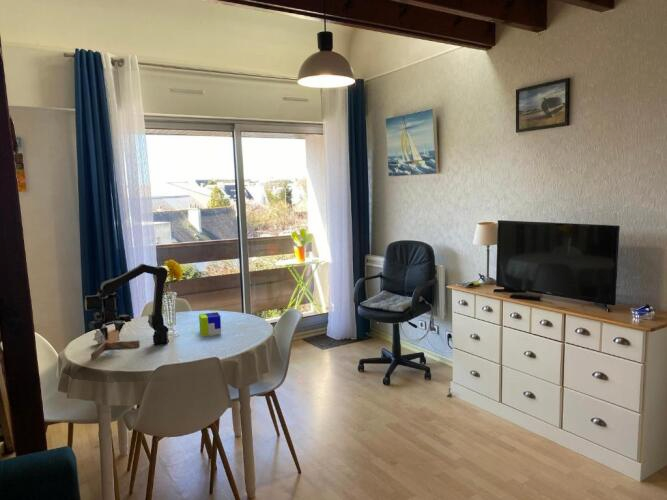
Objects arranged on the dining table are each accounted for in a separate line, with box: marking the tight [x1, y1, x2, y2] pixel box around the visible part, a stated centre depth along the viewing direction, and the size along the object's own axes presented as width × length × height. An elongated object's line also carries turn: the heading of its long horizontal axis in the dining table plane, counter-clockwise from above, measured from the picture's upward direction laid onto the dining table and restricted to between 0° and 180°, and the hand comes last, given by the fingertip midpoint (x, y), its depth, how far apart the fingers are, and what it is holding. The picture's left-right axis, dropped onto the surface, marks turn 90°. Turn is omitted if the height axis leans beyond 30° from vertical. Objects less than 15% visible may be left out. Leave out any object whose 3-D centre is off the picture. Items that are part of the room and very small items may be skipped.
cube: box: [104, 328, 120, 343], centre depth 241 cm, size 5×5×5 cm
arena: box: [90, 340, 141, 361], centre depth 240 cm, size 17×19×3 cm
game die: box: [92, 329, 104, 345], centre depth 255 cm, size 9×8×10 cm
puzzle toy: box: [198, 311, 222, 337], centre depth 272 cm, size 10×10×10 cm
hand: (111, 339), depth 241 cm, fingers closed on cube, 5 cm apart
